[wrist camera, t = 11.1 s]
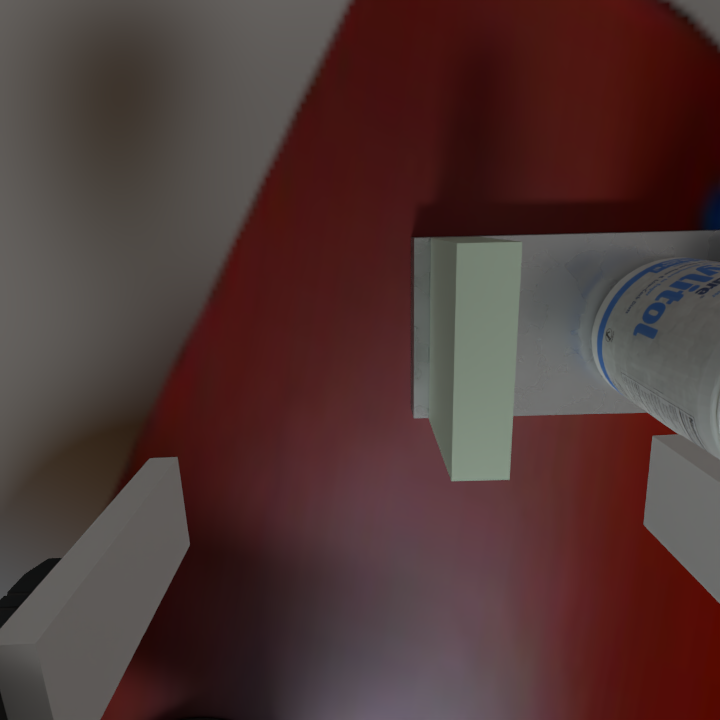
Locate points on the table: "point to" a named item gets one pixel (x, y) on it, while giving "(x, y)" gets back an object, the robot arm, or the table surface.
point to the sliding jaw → (474, 353)
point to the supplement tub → (666, 345)
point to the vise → (556, 313)
